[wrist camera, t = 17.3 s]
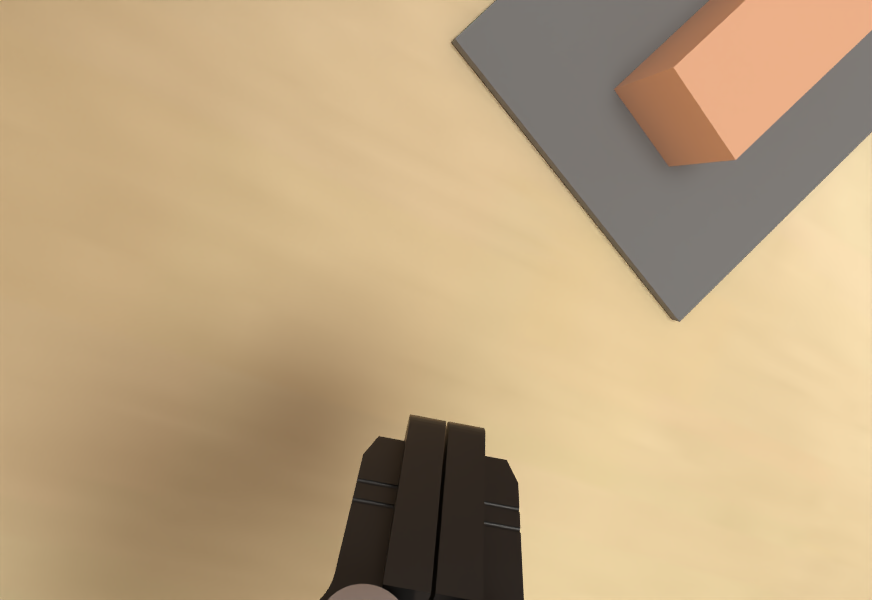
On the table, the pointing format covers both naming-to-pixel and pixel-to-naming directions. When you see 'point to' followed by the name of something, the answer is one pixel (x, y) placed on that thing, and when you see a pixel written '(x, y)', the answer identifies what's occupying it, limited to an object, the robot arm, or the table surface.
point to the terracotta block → (737, 72)
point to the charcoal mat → (634, 152)
